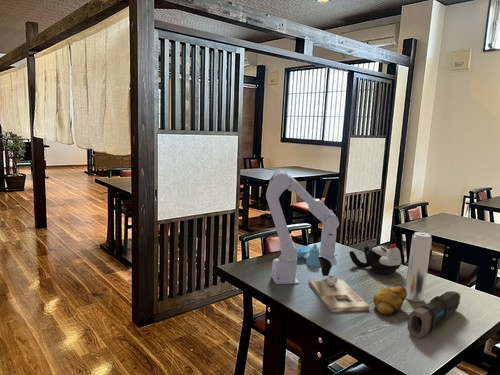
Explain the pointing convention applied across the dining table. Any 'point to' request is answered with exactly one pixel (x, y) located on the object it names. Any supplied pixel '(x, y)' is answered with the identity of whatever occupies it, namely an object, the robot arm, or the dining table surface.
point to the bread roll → (389, 299)
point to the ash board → (338, 296)
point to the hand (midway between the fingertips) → (325, 275)
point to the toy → (379, 258)
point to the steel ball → (332, 281)
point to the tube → (433, 313)
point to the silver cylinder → (418, 266)
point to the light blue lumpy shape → (313, 253)
